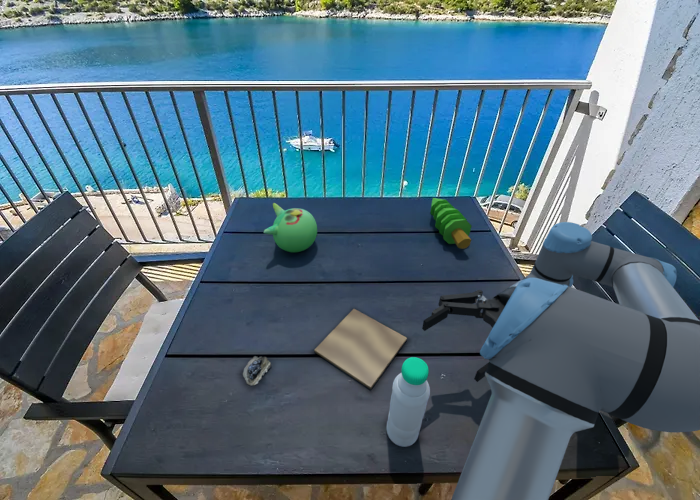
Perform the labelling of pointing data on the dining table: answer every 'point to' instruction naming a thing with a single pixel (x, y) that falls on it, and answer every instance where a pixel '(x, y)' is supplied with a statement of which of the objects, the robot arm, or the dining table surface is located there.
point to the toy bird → (293, 229)
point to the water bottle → (408, 402)
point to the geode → (255, 369)
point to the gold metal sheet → (361, 347)
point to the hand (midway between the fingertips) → (448, 349)
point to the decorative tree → (451, 223)
